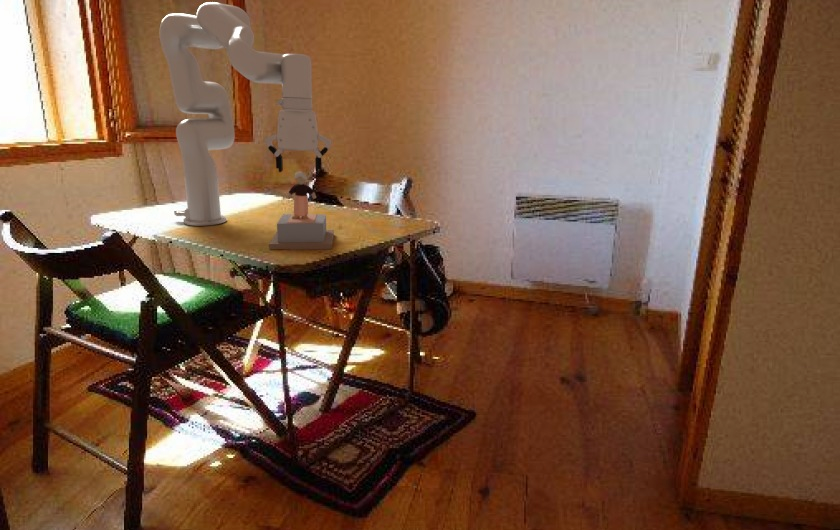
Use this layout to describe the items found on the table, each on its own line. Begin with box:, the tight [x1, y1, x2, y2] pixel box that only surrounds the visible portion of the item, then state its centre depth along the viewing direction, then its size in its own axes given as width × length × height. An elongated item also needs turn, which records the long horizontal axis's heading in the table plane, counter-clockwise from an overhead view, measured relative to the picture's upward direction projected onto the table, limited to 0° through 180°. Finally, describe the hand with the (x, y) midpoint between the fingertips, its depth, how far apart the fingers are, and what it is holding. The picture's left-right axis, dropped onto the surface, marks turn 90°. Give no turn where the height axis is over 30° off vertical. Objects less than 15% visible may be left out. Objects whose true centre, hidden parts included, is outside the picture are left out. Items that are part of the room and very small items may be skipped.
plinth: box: [268, 213, 335, 251], centre depth 149 cm, size 16×16×7 cm
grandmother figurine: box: [286, 170, 317, 219], centre depth 146 cm, size 8×4×13 cm, turn 107°
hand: (299, 171), depth 144 cm, fingers open, 9 cm apart
